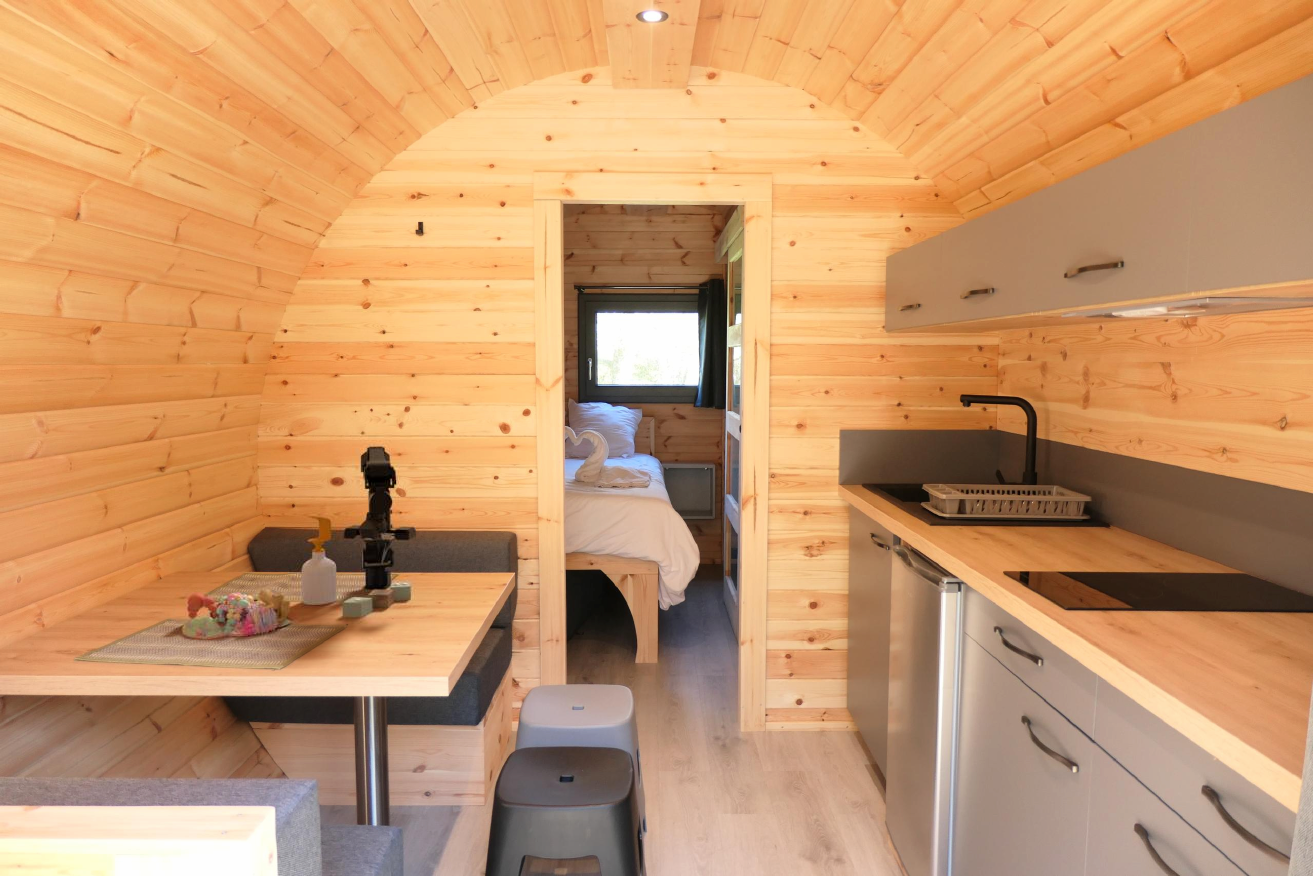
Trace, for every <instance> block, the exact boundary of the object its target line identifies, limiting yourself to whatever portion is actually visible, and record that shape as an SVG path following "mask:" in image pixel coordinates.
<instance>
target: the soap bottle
mask: <svg viewBox="0 0 1313 876" xmlns="http://www.w3.org/2000/svg"><path fill="white" fill-rule="evenodd" d="M308 518H309V519H310V518H311V519H313V520H314V519H315V520H317V521H318V533H319V534H318V537H316V538H310V539H308V540H307V542H308V543H312V544H313V546H314V545H315V548H314V549H312V552H311V553H312V555H311V558H310V559H308V560H307V561H306V562H304V563H303V565H302V568H301V598H302V599H301V600H302V603H303V604H304V605H308V606H323V605H328V604H331V603H334V602H336V600H337V598H338V597H337V596H338V593H337V589H338V588H337V566H336V565H337V564H336V563H335V562H334V561H333V560H332V559H330V558H328V557H326V549H325V548H323V547H322V545H324V544H325V543H324V542H327V541H330V540H331V538H332V521H331V519H329V518H326V517H321V516H313V515H312V516H311V515H309V516H308Z"/></svg>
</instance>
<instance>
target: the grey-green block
mask: <svg viewBox="0 0 1313 876" xmlns="http://www.w3.org/2000/svg"><path fill="white" fill-rule="evenodd" d="M341 603H342V617H346V618H361V619H362V618H365V616H367V615H369V614H372V613H373V608H372V598H368V597H360V596H359V597H358V596H353V597H351V598H348V599H346V600H344V601H342V602H341Z"/></svg>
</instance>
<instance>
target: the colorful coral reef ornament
mask: <svg viewBox="0 0 1313 876" xmlns="http://www.w3.org/2000/svg"><path fill="white" fill-rule="evenodd" d="M187 605H188V606H187V612H188V618H190V619H189V620H188V621H187V622H186V623H184V625H182V628H181V632H182V635H184V636H186V637H187V638H190V639H191V638H193V639H199V640H211V639H217V638H222V636H223V637H232V636H237V637H238V636H243V637H249V636H248V635H250V636H252V635H253V636H255V635H257V634H258V635H260V634H261V635H263V634H264V633H267V634H268V632H269V631H273V632H275V629H276V628H277V629H278V628H281V627H284V626H287V625H290V623H291V622H292V621H291V620H289V619H288V618H287V617H288V616H289V611H290V606H291V601H288V600H285V594H284V593H282V592H278V593H277V594H275V593H273V592H272V591H271V590H270V589H261V590H260V592H259V594H258V600H257V601H255V600H254V597H253V596H251V595H247V594H242V593H240V592H238V591H236V593H235V592H231V593H229V594H228V595H225V596H223V597H221V598H220V599H219V603H218V604H216V605H215V600H214V599H213V598H212V597H206V596H205V595H203V594H202V593H199V592H198V593H197V592H196V593H193V594H191V595H190V596H189V597H188V599H187ZM202 608H206V609H207V610H208V611H209V615H202V616H200V617H197V616H198V614H197V613H198V612H199V611H200V610H201V609H202Z"/></svg>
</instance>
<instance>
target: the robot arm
mask: <svg viewBox="0 0 1313 876" xmlns="http://www.w3.org/2000/svg"><path fill="white" fill-rule="evenodd" d="M360 473H362V475H363V476H362V478H363V480H364V490H368V493H367V497H368V499H367V501H368V512H366V518H365V520H364V521H363V522H362V523H361V524H360V525H350V526H348V527H345V528H344V530H343V539H347V540H349V539H350V540H354V539H356V538H357V536H360V539H361V540H363V542H364V548H362V554H361V555H362V558H361V559H362V561H361V562H362V569H363V570H365V572H364V574H365V575H364V577H365V582H364V583H365V585H364V586H362V588H363V589H365V590H366V589H367V590H368V589H373V590H385V589H386V588H388V587H390V586H391V583H392V571H391V570H390V568H392V567H394V566H395V551H394V550H393V548H392V546H391V544H392V542H393V541H395V540H397V541H409V540H412V539H413V538H416V537H417V531H416V528H415V527H414V526H400V527H398V528H395V529H393V524H392V521H391V519H392V518H391V514H393V509H391V508H392V505H393V499H392V497H391V490H390V489H395V486H396V485H397V474H396V473H397V472H396V469H395V467H394V466H392V465H391V455H390V454H389V453H388V452H387V451H386V449H385V446H382V445H381V446H378V445H377V446H367V447H366V450H365V452H364V453H362V454H361V455H360Z"/></svg>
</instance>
